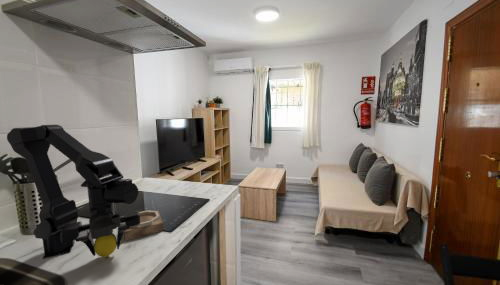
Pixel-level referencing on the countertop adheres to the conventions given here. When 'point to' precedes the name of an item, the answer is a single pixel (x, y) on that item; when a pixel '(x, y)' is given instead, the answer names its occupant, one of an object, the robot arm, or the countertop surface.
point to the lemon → (105, 245)
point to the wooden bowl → (145, 225)
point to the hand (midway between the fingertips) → (106, 251)
